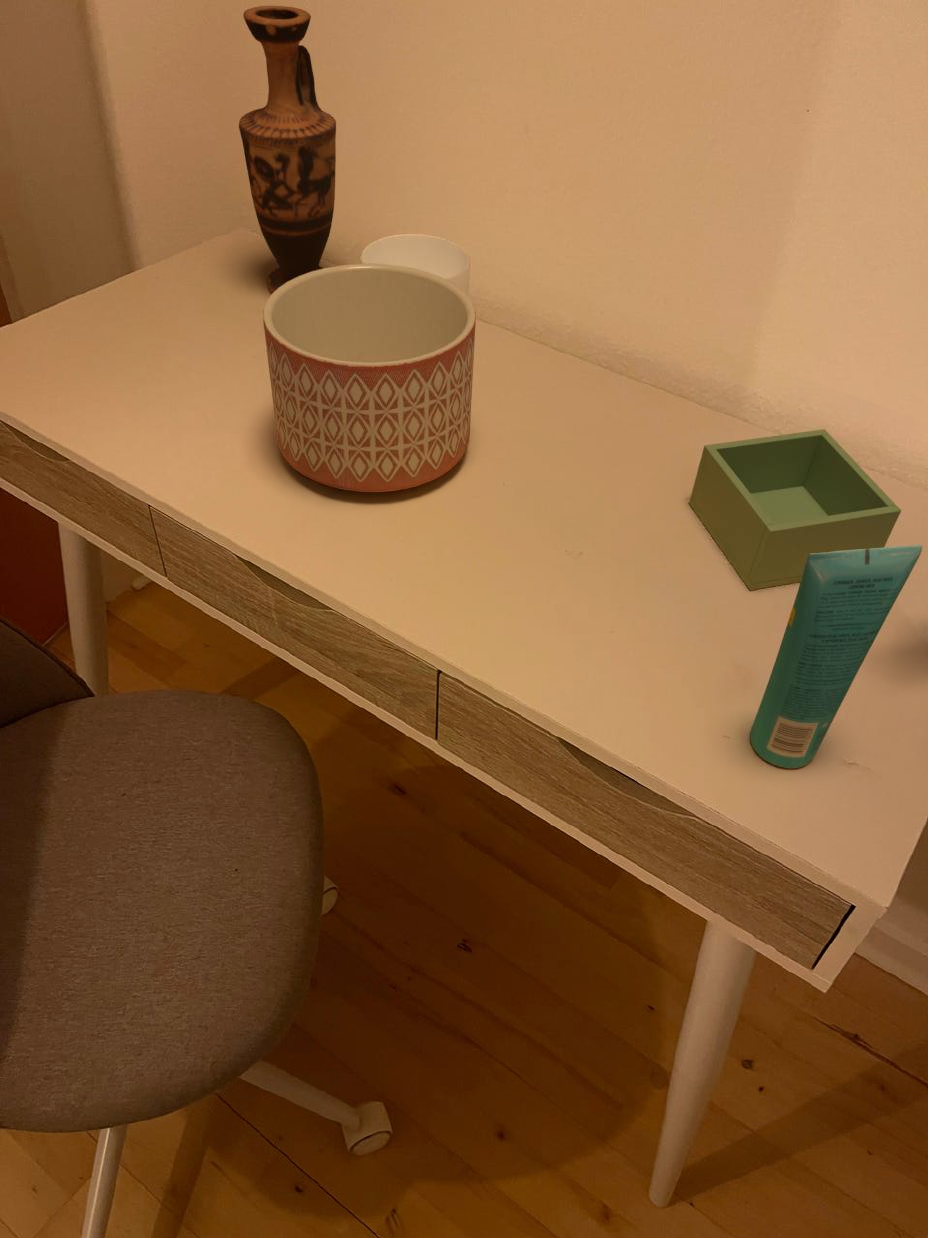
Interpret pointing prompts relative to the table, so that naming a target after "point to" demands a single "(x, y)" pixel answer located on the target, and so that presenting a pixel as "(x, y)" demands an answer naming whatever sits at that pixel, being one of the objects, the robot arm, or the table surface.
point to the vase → (289, 148)
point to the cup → (422, 256)
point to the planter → (371, 375)
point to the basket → (787, 504)
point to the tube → (826, 646)
